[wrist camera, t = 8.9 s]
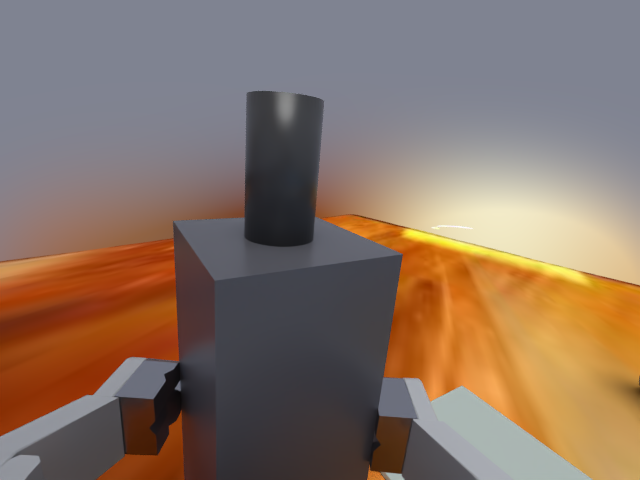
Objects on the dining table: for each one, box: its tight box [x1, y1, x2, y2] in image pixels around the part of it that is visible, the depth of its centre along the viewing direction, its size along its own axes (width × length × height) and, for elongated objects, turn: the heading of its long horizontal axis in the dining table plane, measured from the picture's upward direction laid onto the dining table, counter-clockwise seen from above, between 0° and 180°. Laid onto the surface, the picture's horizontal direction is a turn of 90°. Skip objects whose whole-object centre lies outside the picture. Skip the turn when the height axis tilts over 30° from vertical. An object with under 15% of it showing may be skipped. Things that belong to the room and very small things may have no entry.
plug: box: [173, 91, 403, 480], centre depth 9 cm, size 4×4×15 cm
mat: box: [380, 386, 592, 480], centre depth 22 cm, size 12×12×1 cm
